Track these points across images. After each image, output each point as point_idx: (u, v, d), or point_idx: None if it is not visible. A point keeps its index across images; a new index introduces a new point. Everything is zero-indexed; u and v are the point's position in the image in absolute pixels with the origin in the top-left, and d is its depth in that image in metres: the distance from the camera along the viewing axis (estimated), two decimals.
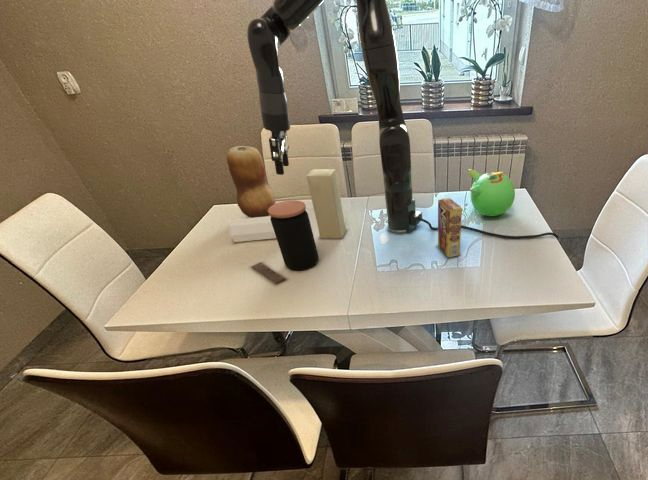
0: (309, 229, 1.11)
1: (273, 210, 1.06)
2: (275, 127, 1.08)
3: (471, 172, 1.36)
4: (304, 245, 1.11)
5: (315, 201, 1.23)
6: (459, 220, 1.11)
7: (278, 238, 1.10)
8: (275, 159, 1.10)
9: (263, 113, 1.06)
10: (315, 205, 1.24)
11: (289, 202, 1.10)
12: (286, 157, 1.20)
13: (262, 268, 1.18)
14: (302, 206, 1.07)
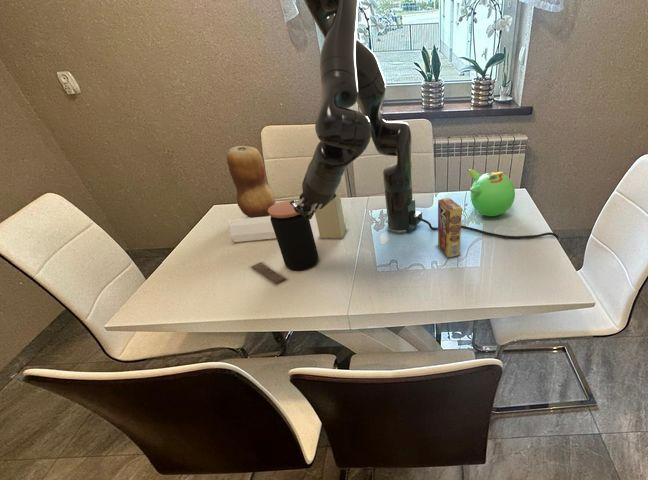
0: (309, 229, 1.11)
1: (273, 210, 1.06)
2: None
3: (471, 172, 1.36)
4: (304, 245, 1.11)
5: None
6: (459, 220, 1.11)
7: (278, 238, 1.10)
8: None
9: None
10: None
11: (289, 202, 1.10)
12: None
13: (262, 268, 1.18)
14: None
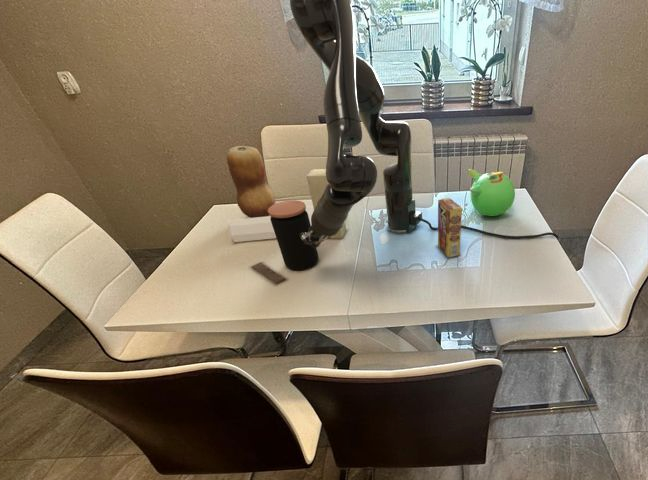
0: None
1: (273, 210, 1.06)
2: None
3: (471, 172, 1.36)
4: (304, 245, 1.11)
5: (315, 201, 1.23)
6: (459, 220, 1.11)
7: (278, 238, 1.10)
8: None
9: None
10: (315, 205, 1.24)
11: (289, 202, 1.10)
12: None
13: (262, 268, 1.18)
14: (302, 206, 1.07)
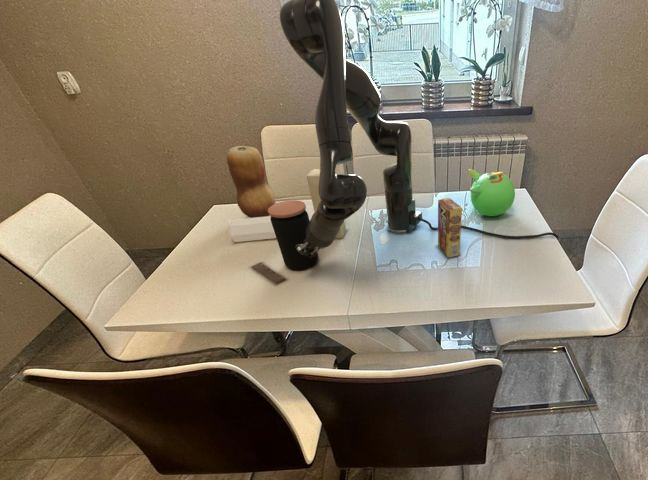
0: None
1: (273, 210, 1.06)
2: None
3: (471, 172, 1.36)
4: None
5: (315, 201, 1.23)
6: (459, 220, 1.11)
7: (278, 238, 1.10)
8: None
9: None
10: (315, 205, 1.24)
11: (289, 202, 1.10)
12: None
13: (262, 268, 1.18)
14: (302, 206, 1.07)
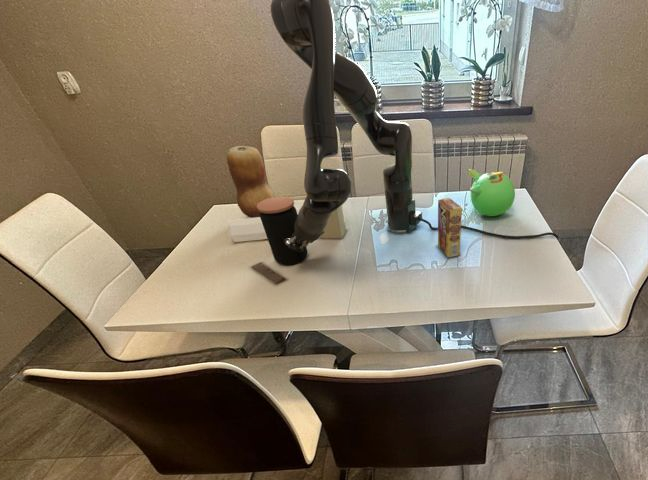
0: None
1: (262, 206, 1.09)
2: None
3: (471, 172, 1.36)
4: None
5: None
6: (459, 220, 1.11)
7: (267, 233, 1.12)
8: None
9: None
10: None
11: (277, 198, 1.13)
12: None
13: (262, 268, 1.18)
14: (290, 202, 1.10)
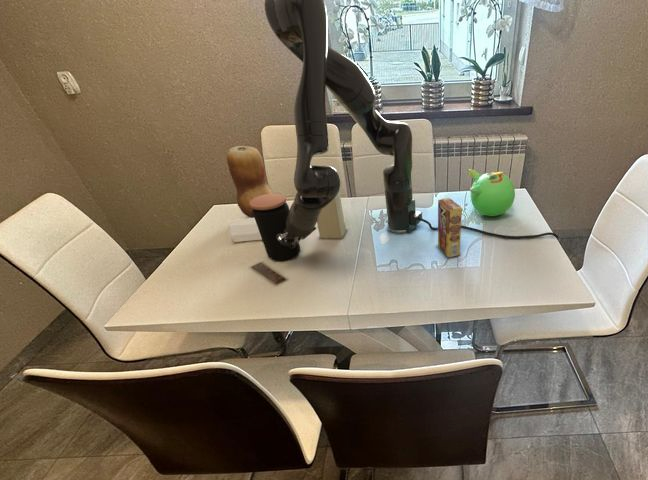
0: None
1: (255, 203, 1.11)
2: None
3: (471, 172, 1.36)
4: None
5: None
6: (459, 220, 1.11)
7: (260, 230, 1.14)
8: None
9: None
10: None
11: (270, 195, 1.15)
12: None
13: (262, 268, 1.18)
14: (283, 198, 1.12)
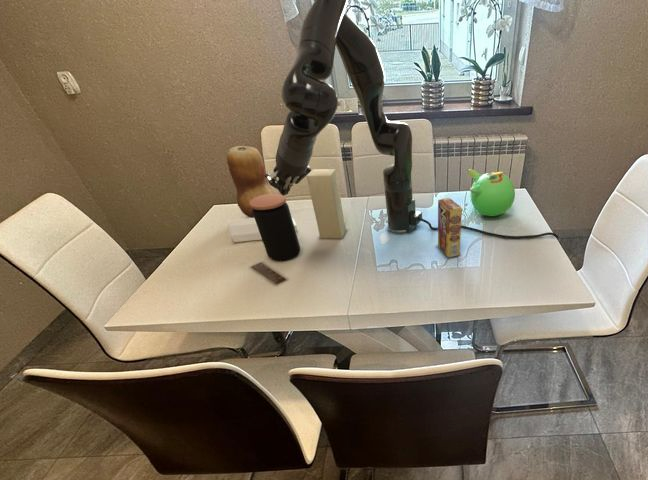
0: (290, 221, 1.16)
1: (255, 203, 1.11)
2: None
3: (471, 172, 1.36)
4: (286, 236, 1.16)
5: (315, 201, 1.23)
6: (459, 220, 1.11)
7: (260, 230, 1.14)
8: None
9: None
10: (315, 205, 1.24)
11: (270, 195, 1.15)
12: None
13: (262, 268, 1.18)
14: (282, 198, 1.12)
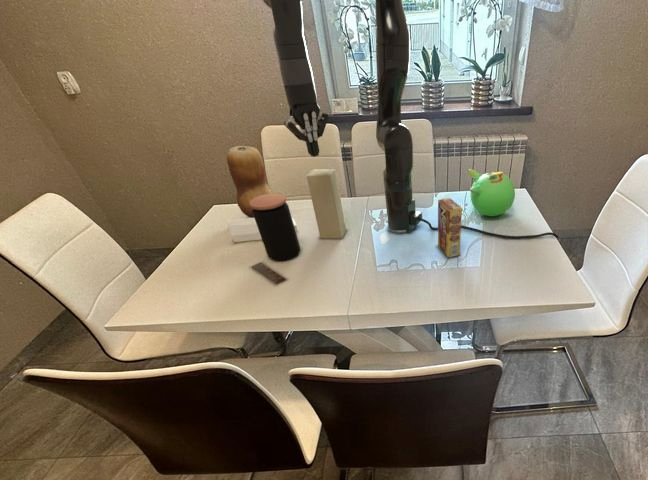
0: (290, 221, 1.16)
1: (255, 203, 1.11)
2: None
3: (471, 172, 1.36)
4: (286, 236, 1.16)
5: (315, 201, 1.23)
6: (459, 220, 1.11)
7: (260, 230, 1.14)
8: None
9: (313, 82, 0.94)
10: (315, 205, 1.24)
11: (270, 195, 1.15)
12: None
13: (262, 268, 1.18)
14: (282, 198, 1.12)
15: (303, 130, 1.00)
